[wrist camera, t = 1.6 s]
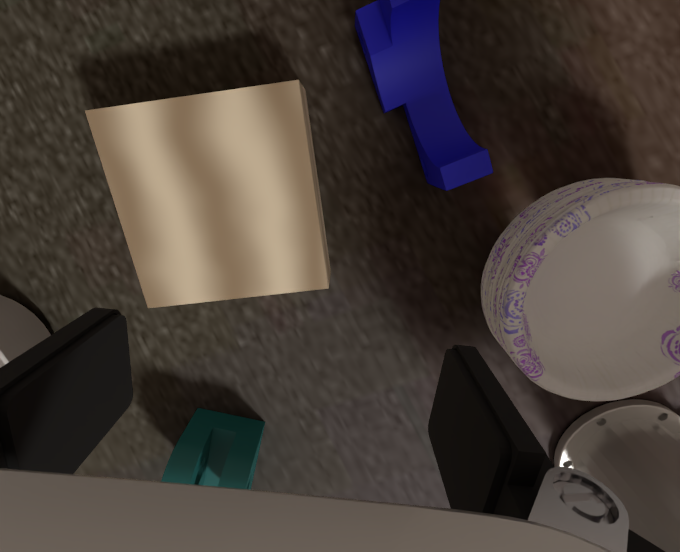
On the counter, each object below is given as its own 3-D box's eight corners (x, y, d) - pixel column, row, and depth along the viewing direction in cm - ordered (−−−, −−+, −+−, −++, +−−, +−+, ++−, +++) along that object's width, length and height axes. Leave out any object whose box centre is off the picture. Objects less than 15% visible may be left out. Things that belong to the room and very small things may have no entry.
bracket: (198, 406, 36) (159, 472, 28) (265, 420, 36) (244, 489, 29) (180, 532, 42) (144, 615, 34) (238, 543, 42) (215, 627, 35)
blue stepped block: (354, 26, 25) (356, -10, 20) (416, -3, 25) (437, -49, 19) (408, 190, 29) (423, 199, 23) (464, 168, 28) (493, 172, 23)
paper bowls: (651, 328, 32) (744, 382, 25) (478, 363, 34) (516, 424, 26) (655, 152, 27) (772, 152, 20) (454, 201, 29) (491, 218, 21)
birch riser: (305, 90, 26) (298, 79, 23) (330, 271, 31) (328, 288, 27) (121, 116, 27) (84, 110, 23) (172, 289, 32) (148, 308, 28)
